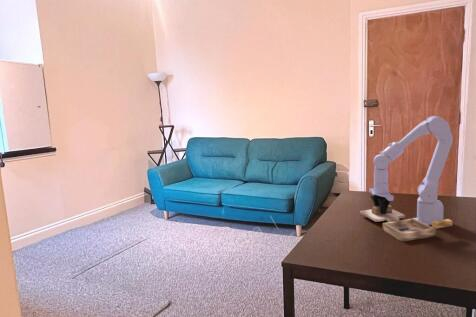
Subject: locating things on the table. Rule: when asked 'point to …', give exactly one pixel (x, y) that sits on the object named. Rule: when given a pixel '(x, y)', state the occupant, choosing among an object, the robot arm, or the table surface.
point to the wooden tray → (408, 229)
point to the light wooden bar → (442, 223)
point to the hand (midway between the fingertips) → (380, 212)
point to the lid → (377, 216)
